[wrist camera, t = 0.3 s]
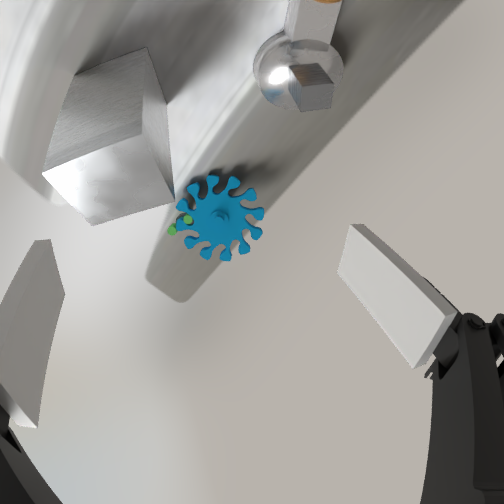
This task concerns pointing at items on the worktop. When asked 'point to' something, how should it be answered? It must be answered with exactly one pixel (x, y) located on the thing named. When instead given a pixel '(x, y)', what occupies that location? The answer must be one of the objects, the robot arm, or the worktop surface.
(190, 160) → the worktop surface
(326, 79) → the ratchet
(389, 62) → the worktop surface
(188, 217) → the gear
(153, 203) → the brushed metal block
